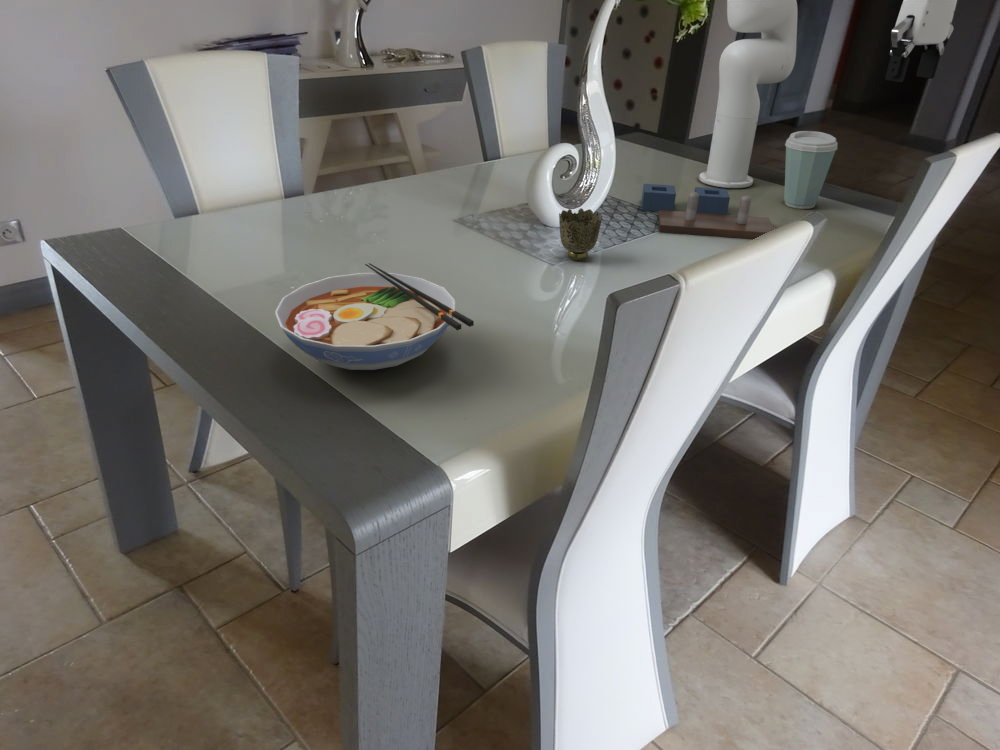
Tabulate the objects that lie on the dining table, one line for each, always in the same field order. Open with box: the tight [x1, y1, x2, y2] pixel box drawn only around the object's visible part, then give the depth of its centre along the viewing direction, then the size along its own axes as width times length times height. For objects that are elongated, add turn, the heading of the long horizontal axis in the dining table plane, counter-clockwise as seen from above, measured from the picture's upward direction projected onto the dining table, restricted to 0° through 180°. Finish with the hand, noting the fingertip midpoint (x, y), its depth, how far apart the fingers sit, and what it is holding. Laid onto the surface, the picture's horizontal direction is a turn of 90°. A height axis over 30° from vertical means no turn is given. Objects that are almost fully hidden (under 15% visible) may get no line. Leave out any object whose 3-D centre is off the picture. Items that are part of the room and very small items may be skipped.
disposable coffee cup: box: [783, 130, 839, 210], centre depth 161 cm, size 11×11×15 cm
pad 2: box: [694, 186, 731, 215], centre depth 158 cm, size 7×7×4 cm
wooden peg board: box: [657, 191, 775, 240], centre depth 147 cm, size 10×22×7 cm, turn 81°
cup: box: [558, 207, 603, 262], centre depth 130 cm, size 8×7×8 cm
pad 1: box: [641, 183, 677, 213], centre depth 160 cm, size 7×7×4 cm
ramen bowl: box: [274, 262, 475, 371], centre depth 97 cm, size 25×23×8 cm
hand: (909, 79), depth 134 cm, fingers open, 9 cm apart
